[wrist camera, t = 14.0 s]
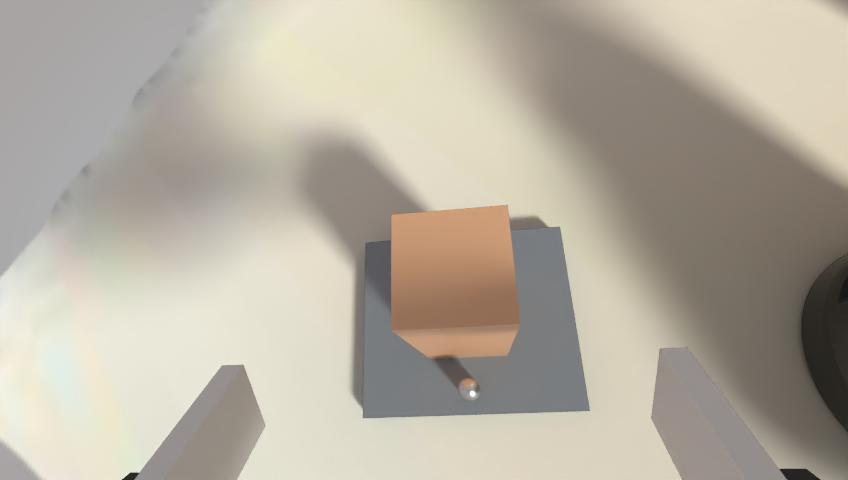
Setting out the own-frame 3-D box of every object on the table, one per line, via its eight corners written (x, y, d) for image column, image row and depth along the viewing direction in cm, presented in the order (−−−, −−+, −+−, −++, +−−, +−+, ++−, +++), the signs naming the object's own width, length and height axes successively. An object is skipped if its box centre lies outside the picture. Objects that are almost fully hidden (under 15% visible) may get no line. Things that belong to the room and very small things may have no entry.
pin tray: (556, 234, 31) (568, 205, 26) (584, 410, 27) (604, 412, 22) (370, 249, 33) (351, 224, 28) (368, 417, 28) (345, 420, 24)
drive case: (500, 280, 29) (507, 204, 18) (507, 355, 27) (520, 323, 16) (427, 284, 30) (391, 214, 18) (429, 358, 28) (390, 330, 17)
